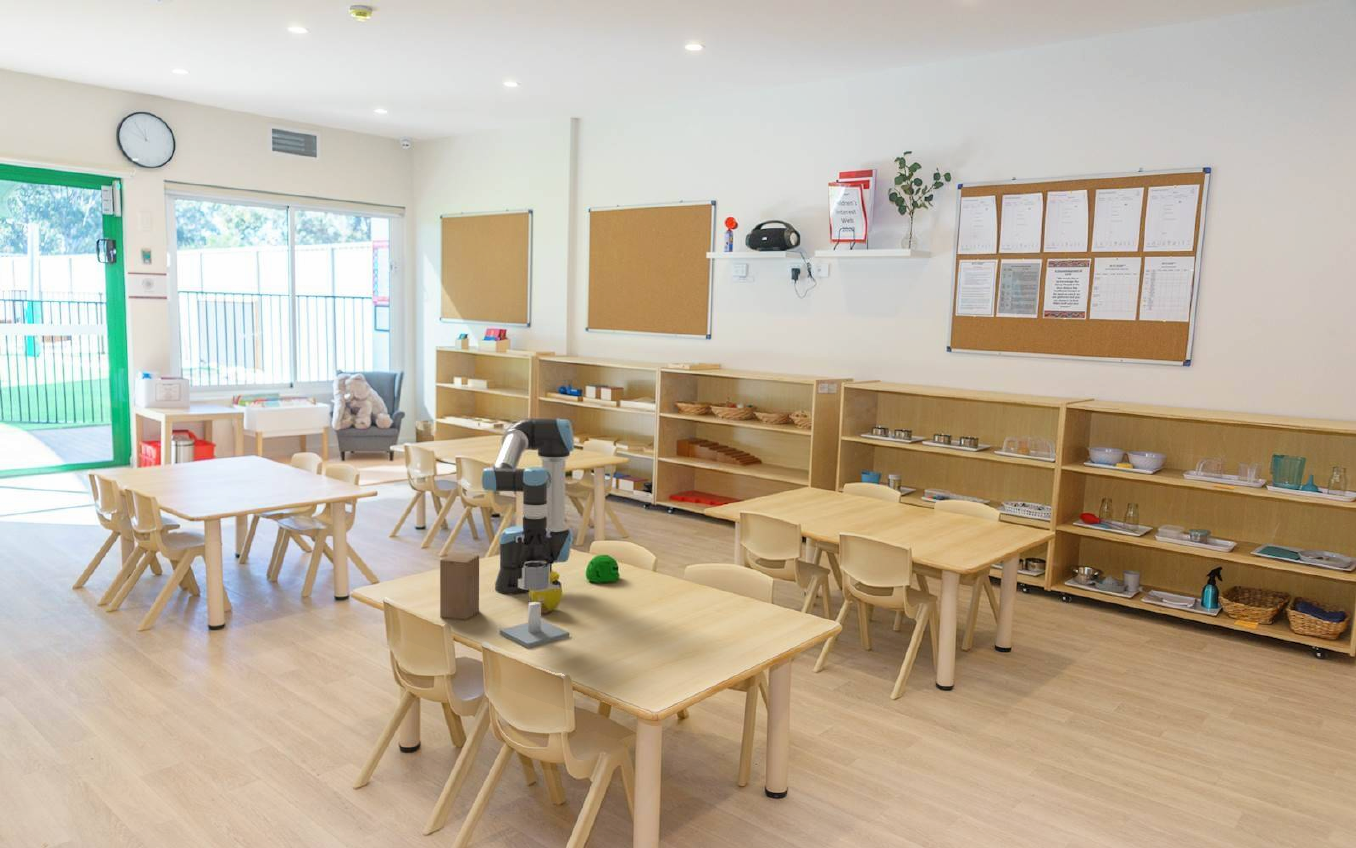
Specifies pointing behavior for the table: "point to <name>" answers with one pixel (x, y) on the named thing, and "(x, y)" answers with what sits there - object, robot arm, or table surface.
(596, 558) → the toy
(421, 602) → the table surface
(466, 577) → the wooden block
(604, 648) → the table surface
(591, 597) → the table surface
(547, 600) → the toy
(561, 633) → the piston post
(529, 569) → the collar ring
